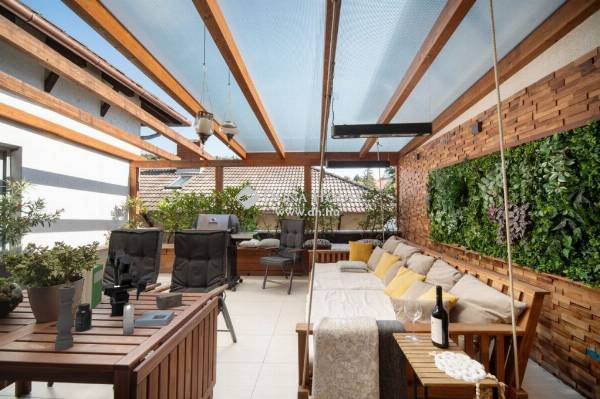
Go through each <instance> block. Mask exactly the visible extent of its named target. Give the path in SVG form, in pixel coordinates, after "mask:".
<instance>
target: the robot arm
mask: <svg viewBox="0 0 600 399" xmlns="http://www.w3.org/2000/svg"><path fill="white" fill-rule="evenodd" d="M124 250H125V249H124V248H114V249H113V251H111V252H109V253H108V257H107V262H108V263H109V267H110V268H112V270H113V272H112V273H113V274H112V275H113V283H109V284H108V283H107V284H105V285H104V286H103V296H106V297H108V298H109V305H110V306H111V310H110V311H111V314H110V315H109V317H123V314H124V306H125V305H127V304H129V301H130V293H129V291H128V290H132V289H136V301H137V302H138V301H139V298H140V294H141V293H143V292H144V291H146V289H147V285H148V281H146V280H138V281H137V283H134V281H133V280H134V279H137V276H138V274H137V270H136V271H132V272H131V269H132V268H133V264H134V261H135V260H134V258H133V256H132V255H129V253H126V252H125V251H124Z"/></svg>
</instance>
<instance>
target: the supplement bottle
mask: <svg viewBox="0 0 600 399" xmlns="http://www.w3.org/2000/svg"><path fill="white" fill-rule="evenodd" d="M92 322H93V309H92V310H91V308H90V303H84V304H79V305H77V310H75V313H74V326H73V327H74V329H73V330H74V331H75V332H76V333H77V332H85V331H89V330H91V329H92Z"/></svg>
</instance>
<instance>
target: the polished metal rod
mask: <svg viewBox="0 0 600 399" xmlns="http://www.w3.org/2000/svg"><path fill="white" fill-rule="evenodd" d="M122 319H123V320H122V336H129V335H133V334H134V329H135V327H134V326H135V304H134V303H127V304H126V305H125V306H124V314H123V316H122Z"/></svg>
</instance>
